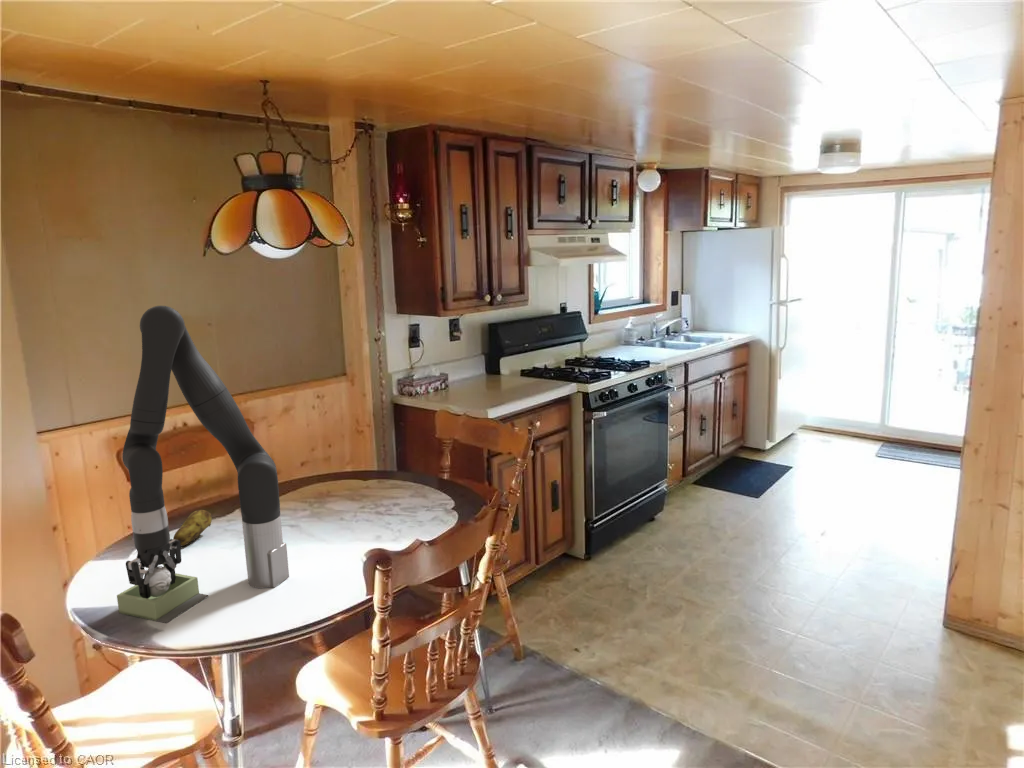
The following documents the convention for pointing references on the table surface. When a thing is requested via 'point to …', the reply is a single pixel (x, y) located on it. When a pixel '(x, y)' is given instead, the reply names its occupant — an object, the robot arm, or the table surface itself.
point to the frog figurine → (159, 581)
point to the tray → (162, 600)
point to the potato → (193, 526)
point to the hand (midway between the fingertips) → (158, 590)
